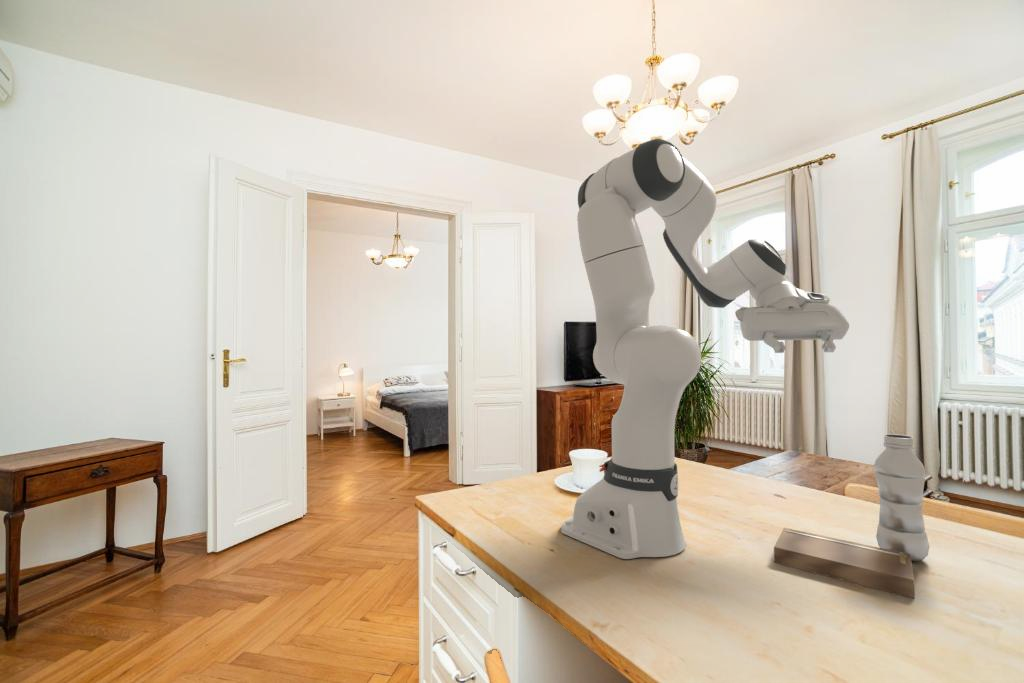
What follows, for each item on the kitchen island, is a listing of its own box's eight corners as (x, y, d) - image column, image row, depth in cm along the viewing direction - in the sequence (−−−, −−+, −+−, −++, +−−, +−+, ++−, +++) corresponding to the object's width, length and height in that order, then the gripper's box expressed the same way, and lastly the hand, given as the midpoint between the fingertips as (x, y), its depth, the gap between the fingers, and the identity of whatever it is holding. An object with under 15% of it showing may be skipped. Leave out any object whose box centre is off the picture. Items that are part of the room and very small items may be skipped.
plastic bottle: (940, 568, 70) (936, 440, 71) (890, 564, 72) (887, 439, 72) (913, 550, 76) (909, 433, 77) (867, 546, 78) (864, 432, 78)
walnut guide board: (774, 562, 73) (773, 546, 73) (784, 541, 80) (784, 527, 80) (914, 598, 62) (914, 579, 62) (910, 570, 70) (910, 553, 70)
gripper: (736, 297, 100) (755, 340, 90) (835, 294, 97) (866, 338, 87) (729, 318, 104) (747, 361, 94) (824, 316, 101) (852, 360, 92)
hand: (805, 350), depth 91 cm, fingers open, 8 cm apart
